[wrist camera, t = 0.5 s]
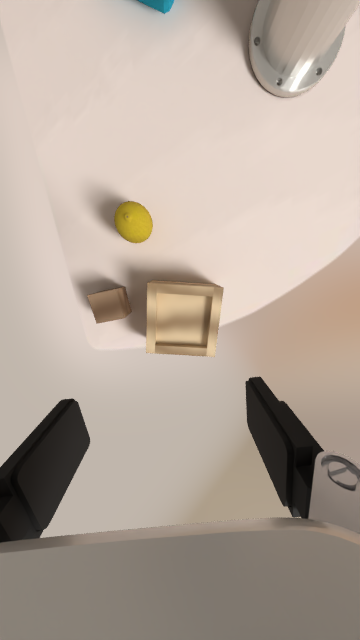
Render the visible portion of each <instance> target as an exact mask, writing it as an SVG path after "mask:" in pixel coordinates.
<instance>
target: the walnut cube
mask: <svg viewBox="0 0 360 640" xmlns="http://www.w3.org/2000/svg"><path fill="white" fill-rule="evenodd" d="M87 296H88V299H89V302H90V305H91V308H92V311H93V314H94V317H95V320H96V323H102V322H107V321H113V320H118V319H123V318H125V317H126V316H128V315H129V314H130V313H131V312H132V310H131V307H130V303H129V300H128V296H127V293H126V289H125V287H120V288H115V289H110V290H106V291H101V292H97V293H94V294H90V295H87Z"/></svg>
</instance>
